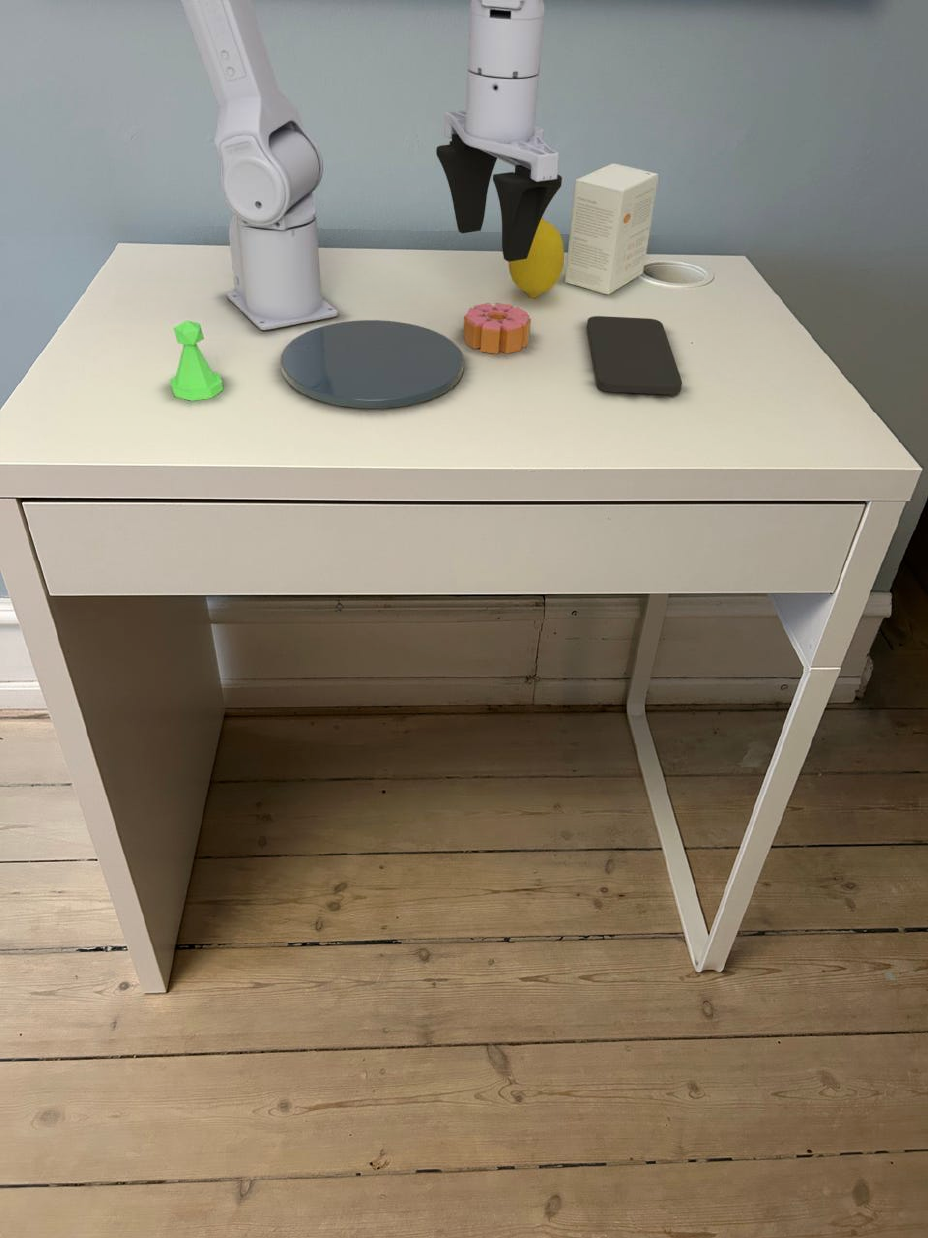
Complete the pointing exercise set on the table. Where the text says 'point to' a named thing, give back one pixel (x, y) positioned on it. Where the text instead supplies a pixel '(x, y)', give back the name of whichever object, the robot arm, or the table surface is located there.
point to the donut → (496, 328)
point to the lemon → (540, 262)
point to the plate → (372, 364)
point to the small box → (610, 227)
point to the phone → (632, 355)
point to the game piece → (193, 367)
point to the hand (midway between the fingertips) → (491, 244)
